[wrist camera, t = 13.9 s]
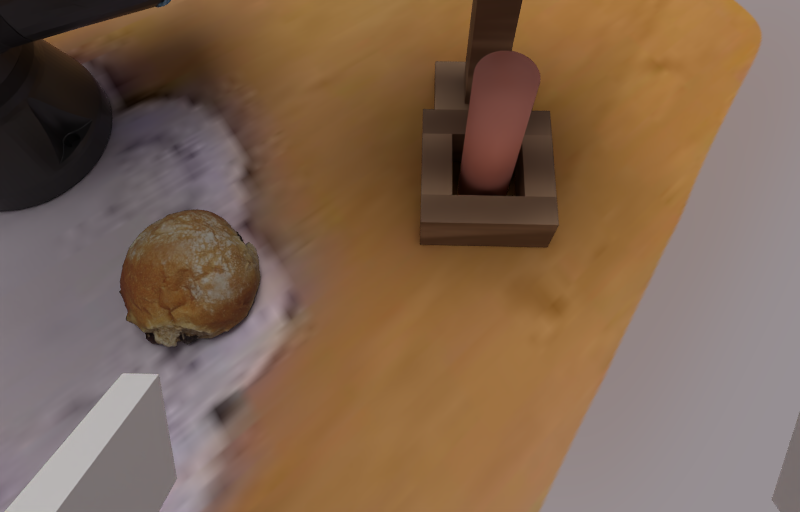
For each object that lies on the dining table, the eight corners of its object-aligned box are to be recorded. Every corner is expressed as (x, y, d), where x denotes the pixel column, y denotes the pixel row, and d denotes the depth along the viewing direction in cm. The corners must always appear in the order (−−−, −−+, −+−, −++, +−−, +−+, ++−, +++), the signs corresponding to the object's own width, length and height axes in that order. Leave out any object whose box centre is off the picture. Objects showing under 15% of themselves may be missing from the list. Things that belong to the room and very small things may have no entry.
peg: (449, 179, 49) (462, 63, 36) (492, 163, 49) (520, 42, 36) (470, 219, 47) (491, 112, 34) (514, 201, 48) (552, 90, 35)
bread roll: (283, 308, 49) (295, 243, 43) (180, 386, 42) (178, 321, 36) (201, 240, 51) (202, 170, 45) (92, 302, 44) (78, 229, 39)
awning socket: (572, 247, 46) (766, -66, 21) (394, 243, 47) (371, -67, 21) (557, 74, 53) (690, -324, 27) (401, 72, 53) (390, -321, 28)
